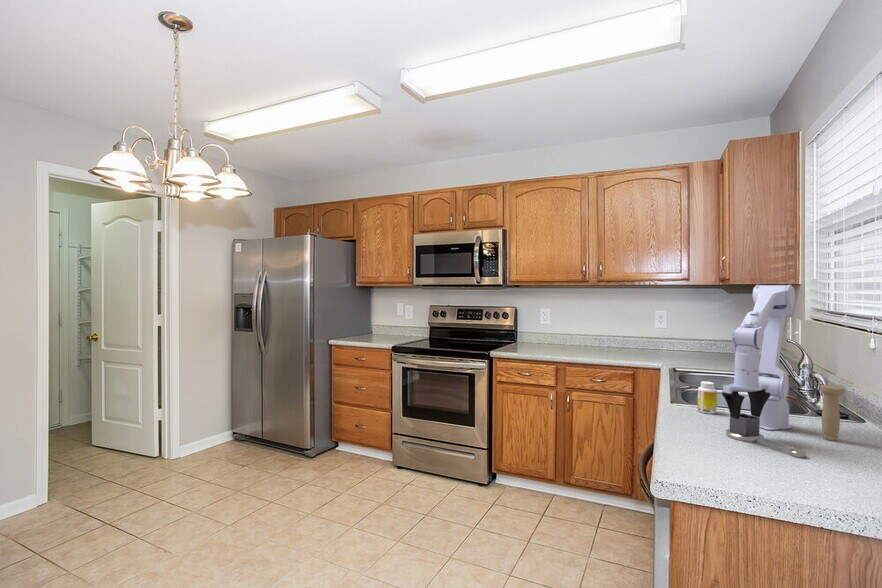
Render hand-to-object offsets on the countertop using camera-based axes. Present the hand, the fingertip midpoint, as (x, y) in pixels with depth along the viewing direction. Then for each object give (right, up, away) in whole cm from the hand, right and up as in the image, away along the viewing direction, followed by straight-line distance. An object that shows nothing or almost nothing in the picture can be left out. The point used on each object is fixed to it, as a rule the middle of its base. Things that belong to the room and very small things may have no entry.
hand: (745, 417), depth 127 cm
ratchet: (+1, -6, -5) cm, 8 cm away
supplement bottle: (+5, -6, +26) cm, 27 cm away
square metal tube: (0, -5, 0) cm, 5 cm away
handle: (+24, -7, 0) cm, 25 cm away
